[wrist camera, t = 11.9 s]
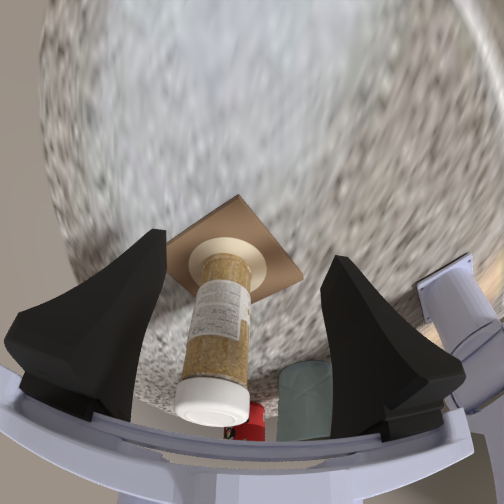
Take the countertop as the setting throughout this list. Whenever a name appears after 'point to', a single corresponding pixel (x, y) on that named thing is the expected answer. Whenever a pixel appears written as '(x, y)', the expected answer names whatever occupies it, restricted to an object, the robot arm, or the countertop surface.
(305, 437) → the grey-green tapered cup
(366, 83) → the countertop surface
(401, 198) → the countertop surface
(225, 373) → the spice jar
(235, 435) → the canned food
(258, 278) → the spice coaster
